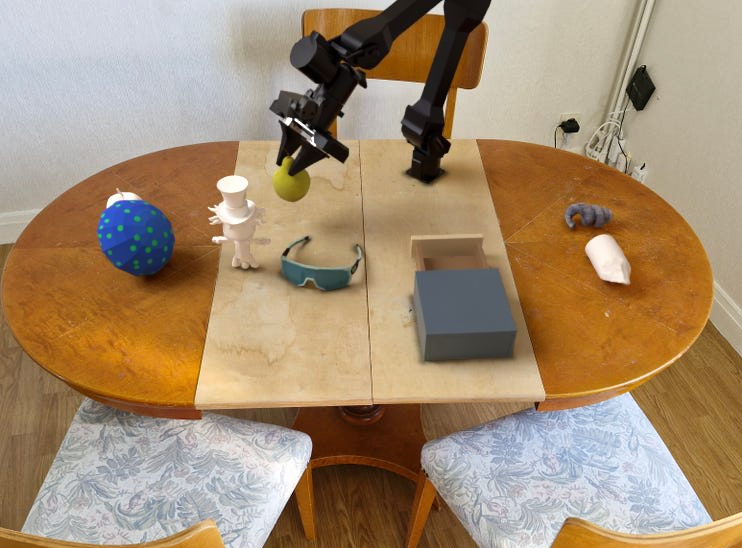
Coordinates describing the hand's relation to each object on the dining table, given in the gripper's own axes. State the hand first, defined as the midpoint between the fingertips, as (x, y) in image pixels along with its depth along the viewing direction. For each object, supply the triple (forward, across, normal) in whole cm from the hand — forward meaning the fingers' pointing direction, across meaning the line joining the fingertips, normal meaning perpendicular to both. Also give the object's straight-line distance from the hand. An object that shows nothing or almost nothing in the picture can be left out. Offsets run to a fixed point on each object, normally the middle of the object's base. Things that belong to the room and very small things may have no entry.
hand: (283, 170), depth 127 cm
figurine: (+19, +5, 0) cm, 19 cm away
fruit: (+4, 0, +6) cm, 7 cm away
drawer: (-2, +30, +20) cm, 36 cm away
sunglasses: (+10, +13, +9) cm, 19 cm away
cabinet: (+3, +40, +16) cm, 44 cm away
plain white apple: (+27, -20, -8) cm, 34 cm away
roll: (-18, +47, +38) cm, 63 cm away
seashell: (-25, +34, +45) cm, 61 cm away
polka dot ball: (+29, -7, -10) cm, 32 cm away
